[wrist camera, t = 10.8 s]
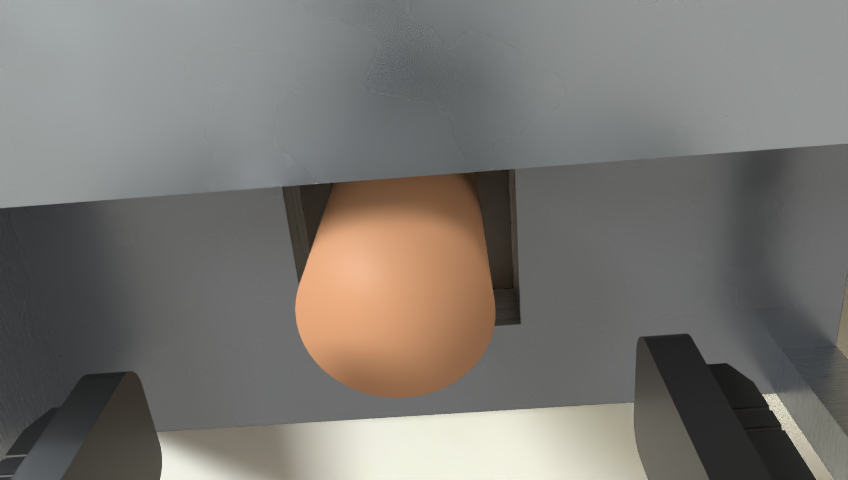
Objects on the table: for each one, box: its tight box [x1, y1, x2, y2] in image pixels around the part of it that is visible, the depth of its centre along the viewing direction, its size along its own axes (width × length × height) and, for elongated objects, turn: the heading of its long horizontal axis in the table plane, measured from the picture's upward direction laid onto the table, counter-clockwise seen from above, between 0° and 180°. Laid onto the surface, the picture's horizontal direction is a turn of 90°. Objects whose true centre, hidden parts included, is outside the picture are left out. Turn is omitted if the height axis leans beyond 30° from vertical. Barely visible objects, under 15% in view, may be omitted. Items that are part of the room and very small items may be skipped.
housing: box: [0, 144, 848, 480], centre depth 16 cm, size 18×22×7 cm
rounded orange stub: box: [295, 172, 495, 398], centre depth 18 cm, size 4×4×6 cm
